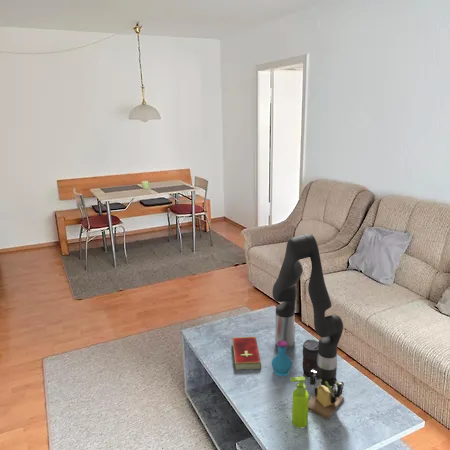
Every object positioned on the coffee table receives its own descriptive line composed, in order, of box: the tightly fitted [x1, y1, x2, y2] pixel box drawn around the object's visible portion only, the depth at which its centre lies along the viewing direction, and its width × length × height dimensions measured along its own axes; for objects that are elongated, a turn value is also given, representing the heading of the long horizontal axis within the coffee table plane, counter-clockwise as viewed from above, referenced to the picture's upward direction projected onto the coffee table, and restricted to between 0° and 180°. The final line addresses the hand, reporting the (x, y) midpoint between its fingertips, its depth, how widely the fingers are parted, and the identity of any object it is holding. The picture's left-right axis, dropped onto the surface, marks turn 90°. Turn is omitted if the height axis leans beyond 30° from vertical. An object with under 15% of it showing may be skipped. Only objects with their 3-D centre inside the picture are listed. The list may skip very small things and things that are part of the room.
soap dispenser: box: [290, 375, 310, 429], centre depth 152 cm, size 6×7×20 cm
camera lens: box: [302, 339, 319, 379], centre depth 179 cm, size 8×8×15 cm
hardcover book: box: [231, 336, 262, 370], centre depth 195 cm, size 12×21×4 cm, turn 2°
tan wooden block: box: [317, 384, 332, 407], centre depth 162 cm, size 5×5×6 cm
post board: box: [308, 393, 345, 420], centre depth 163 cm, size 14×10×6 cm
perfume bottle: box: [271, 340, 293, 377], centre depth 181 cm, size 9×9×15 cm
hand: (325, 398), depth 162 cm, fingers closed on tan wooden block, 6 cm apart
